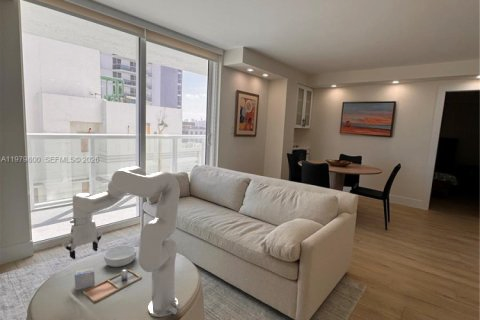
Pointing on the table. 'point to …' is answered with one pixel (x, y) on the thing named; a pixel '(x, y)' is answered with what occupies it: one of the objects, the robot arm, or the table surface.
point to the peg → (124, 275)
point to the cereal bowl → (120, 255)
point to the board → (110, 286)
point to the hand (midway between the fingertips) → (84, 254)
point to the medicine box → (84, 278)
